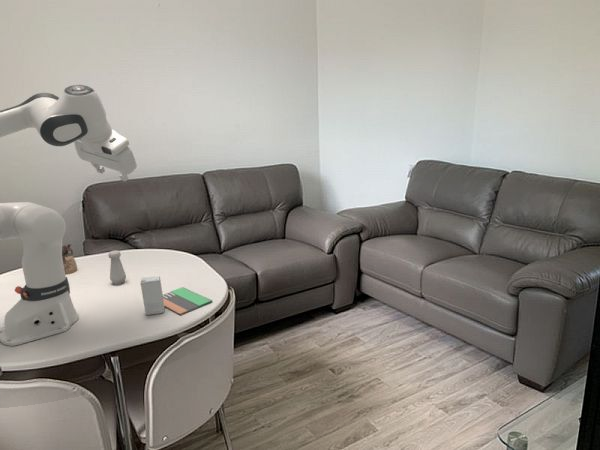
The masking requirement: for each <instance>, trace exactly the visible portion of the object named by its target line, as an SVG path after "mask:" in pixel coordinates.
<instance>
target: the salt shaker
mask: <svg viewBox="0 0 600 450" xmlns="http://www.w3.org/2000/svg"><path fill="white" fill-rule="evenodd" d="M121 254H122V253H121V251H119V250H111V251H109V252H108V258H109V259H110V269H109V270H110V271H109V272H110V275H109V280H110V282H111V283H112V285H114V286H115V285H116V286H119V285H123V284H124V283H125V281H126V278H127V275H126V272H125V269H124V266H123V264H122V261H121V258H120V257H121V256H122V255H121Z"/></svg>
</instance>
